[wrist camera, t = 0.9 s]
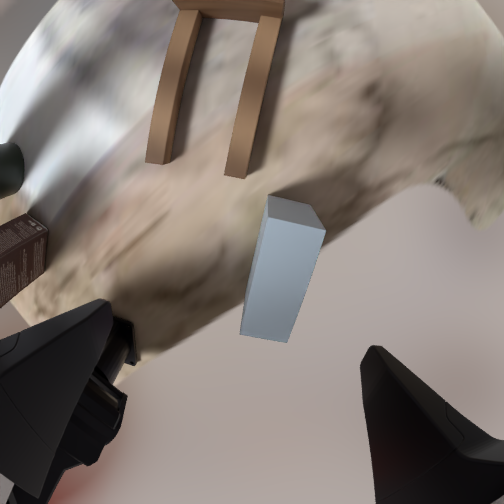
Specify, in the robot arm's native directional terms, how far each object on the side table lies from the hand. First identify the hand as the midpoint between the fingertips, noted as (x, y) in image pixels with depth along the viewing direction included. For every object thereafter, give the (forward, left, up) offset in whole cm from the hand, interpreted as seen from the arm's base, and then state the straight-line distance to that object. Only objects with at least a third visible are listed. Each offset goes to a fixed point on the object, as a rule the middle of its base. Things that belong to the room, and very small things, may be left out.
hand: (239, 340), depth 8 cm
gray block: (-2, -2, -13) cm, 13 cm away
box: (-7, +23, -13) cm, 27 cm away
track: (+9, +5, -13) cm, 17 cm away
